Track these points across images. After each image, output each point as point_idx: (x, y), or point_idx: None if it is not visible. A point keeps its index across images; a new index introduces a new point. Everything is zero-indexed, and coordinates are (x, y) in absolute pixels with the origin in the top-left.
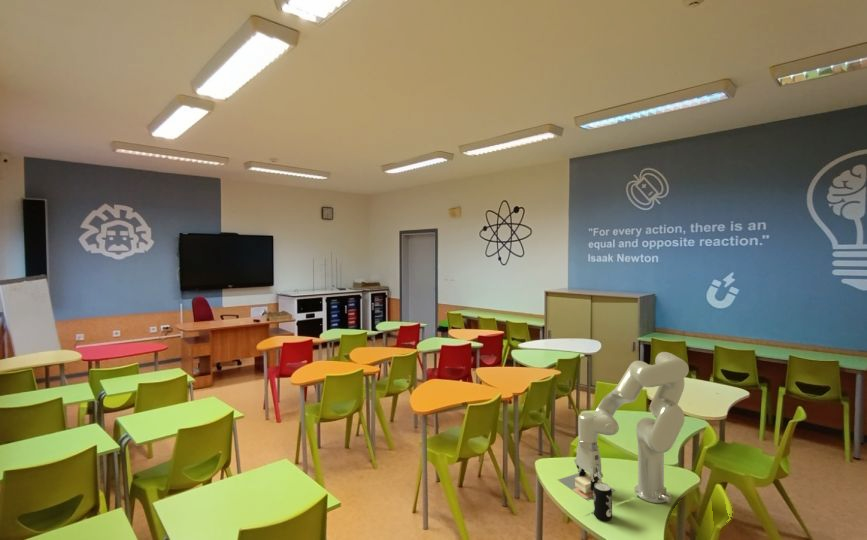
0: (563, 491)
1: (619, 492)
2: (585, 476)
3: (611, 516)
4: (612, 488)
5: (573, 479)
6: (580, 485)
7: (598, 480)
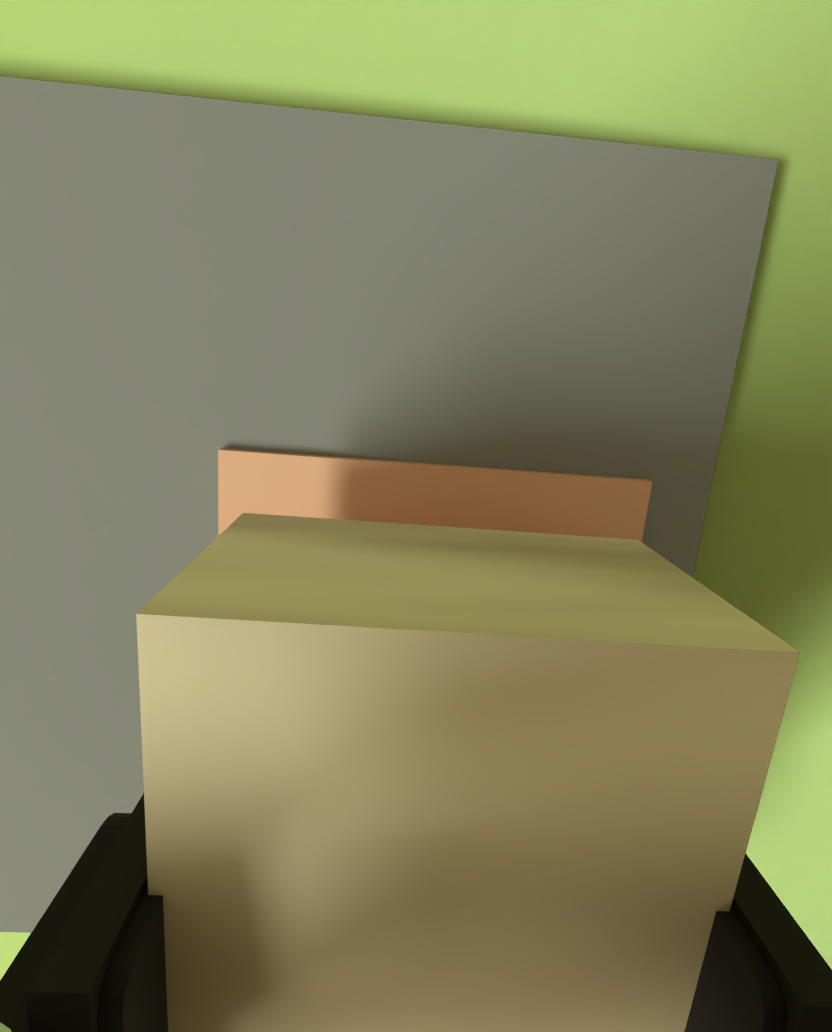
0: None
1: (813, 113)
2: (254, 981)
3: None
4: (666, 156)
5: None
6: None
7: (753, 814)
